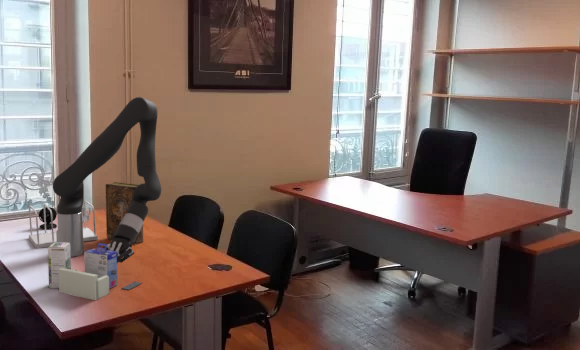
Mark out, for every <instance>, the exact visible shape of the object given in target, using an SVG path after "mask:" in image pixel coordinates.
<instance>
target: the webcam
mask: <svg viewBox="0 0 580 350" xmlns="http://www.w3.org/2000/svg"><path fill="white" fill-rule="evenodd" d="M48 207H49V208H50V209H51V211H52V216H53V230H54V229H56V228H58V224H56V223H55V220H56V219H57V217H58V216H57V210H56V209H55V208H54V207H51V206H48ZM45 215H46V231H47V230H52V225H51V213H50V211H49V209H48V208H47V207H46V206H45ZM38 218H39V220H40V221H41V222H42V223H43V224H40V225H38V228H39V229H40V230H44V231H45V224H44V207H43V208H41V209H40V211H39V212H38Z"/></svg>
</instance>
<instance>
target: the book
mask: <svg viewBox="0 0 580 350" xmlns="http://www.w3.org/2000/svg"><path fill="white" fill-rule="evenodd" d="M138 185H139V184H135V183H127V182H119V181H118V182H117V181H114V182H113V183H106V184H105V211H106V212H105V219H106V220H105V221H106V224H105V225H106V237H107V240H108V241H109V240H110V241H112V240H113V239H114V234H115V232H116V230H117V228H118V226H119V224H120V222H121V220H122V219H123V217H124V216H125V214H126V213H127V211H128V209H129V207H130V205H131V200H132V196H133V192H134V190H135V188H136V187H137V186H138ZM143 243H144V223H143V224H142V227H141V229H140V231H139V233H138V235H137V237H136V239H135V241H134V243H133V244H132V245H138V244H143Z"/></svg>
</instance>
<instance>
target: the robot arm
mask: <svg viewBox="0 0 580 350" xmlns="http://www.w3.org/2000/svg"><path fill="white" fill-rule="evenodd" d="M157 122H158V107H157V105H156V103H155V102H153V101H151V100H149V99H147V98H144V97H141V96H137V97H134V98H133V99H130V101H129V102H128V103H127V104H126V105H125V106H124V108H123V109H122V110H121V112H119V114H118V115H117V116H116V118H115V119H114V120H113V121H112V122H111V123H110V124H109V125H107V127H106V128H105V129H104V130H103V131H102V132H101V133H100V134H99V135H98V136H97V137H96V138H95V139H94V140H93V141H92V142H90V144H88V146H87V147H86V148H85V150H83V152H82V153H81V154H80V155H79V156H78V157H77V159H76V160H75V161H74V162H73V163H72V164H71V165H69V166H68V167H67V168H66V169H64V170H63V171H62V172H61V173H60V174H58V175H57V176H56V177H55V178H54V180H53V183H52V189H53V192H54V194H55V195H56V196H58V197H60V199H59V202H58V203H59V204H58V203H57V204H58V206H57V205H56V206H57V207H56V213H57V216H56V217H57V230H55V231H56V238H57V242H66V243H70V256H71V258H72V257H77V256H81V255H84V252H85V250H84V241H83V228H84V225H83V223H84V222H83V219H82V215H83V214H82V208H83V207H84V201H85V199H84V198H85V196H84V195H85V193H84V192H85V191H84V189H85V188H84V187H85V186H84V181H85V180H86V179H87V178H88V177H89V176H90V175H92V174H93V173H94V172H95V171H97V170H98V169H100V168H101V167H102V166H103V165H104V166H105V164H106V163H108V162H109V161H110V160H111V159H112V158H113V157H114V156H115V155H116V154H117V153H118V152H119V150H120V149H121V147H122V146H123V145H122V144H123V142H124V140H125V138H126V136H127V134H128V133H129V132H130V131H131V129H133V128H134V127H135V126H136V125H137V124H138V123H139V124H138V125H139V128H140V129H139V130H140V137H139V143H138V146H137V151H136V170H137V175H138V176H139V177H142V178H143V180H144V183H143V182H142V183H140V184H137V185H138V186H137V187H136V188H135V190H134V192H133V196H132V200H131V205H130V207H129V209H128V211H127V213H126V214H125V216H124V217H123V219H122V220H121V222H120V224H119V226H118V228H117V230H116V232H115V234H114V239H113V240H110V242H109V243H108V244H107V248H106V250H111V251H117V264H118V263H120V264H122V263H123V262H125V261H127V260H129V258H130V257H132V256H133V255H134V254H135V251H134V250H133V248H132V246H133V245H134V244H133V243H134V241H135V239H136V237H137V235H138V233H139V231H140V229H141V227H142V224H143V225H144V221H145V220H146V218H147V215H148V213H149V207H148V206H147V203H148V202H151V201H157V200H158V199H159V198H160V197H161V194H162V184H161V181H160V178H159V175H158V173H157V164H156V163H157V162H156V133H157ZM102 248H105V246H103V245H102Z"/></svg>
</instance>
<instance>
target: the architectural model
mask: <svg viewBox="0 0 580 350" xmlns="http://www.w3.org/2000/svg"><path fill="white" fill-rule="evenodd" d="M91 209H92V208H91V206H90V207H88V211H87V208H86V207H85V213H86V223H87V222H88V221H90V215H91V213H92V210H91ZM82 219H83V223H85V221H84V207H82Z"/></svg>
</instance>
